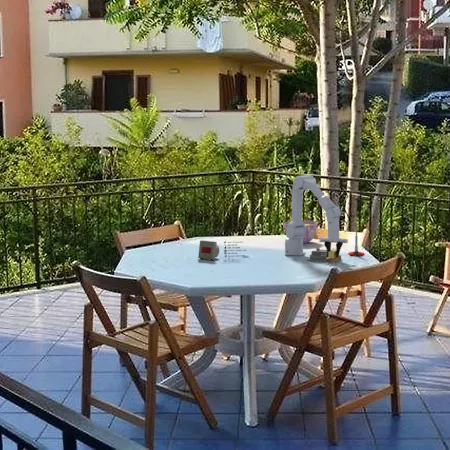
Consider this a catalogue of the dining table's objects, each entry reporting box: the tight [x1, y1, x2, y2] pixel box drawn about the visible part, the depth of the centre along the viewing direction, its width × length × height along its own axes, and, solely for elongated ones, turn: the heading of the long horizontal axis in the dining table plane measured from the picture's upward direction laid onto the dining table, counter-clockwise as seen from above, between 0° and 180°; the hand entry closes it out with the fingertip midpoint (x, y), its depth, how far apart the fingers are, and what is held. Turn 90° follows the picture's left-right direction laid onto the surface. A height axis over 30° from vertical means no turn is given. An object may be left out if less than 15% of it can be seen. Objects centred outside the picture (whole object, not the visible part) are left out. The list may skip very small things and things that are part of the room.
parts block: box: [325, 254, 342, 264], centre depth 411 cm, size 5×11×2 cm, turn 157°
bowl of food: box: [283, 220, 318, 245], centre depth 467 cm, size 20×20×12 cm
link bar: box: [328, 248, 337, 259], centre depth 410 cm, size 3×9×4 cm, turn 157°
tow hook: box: [347, 231, 365, 257], centre depth 426 cm, size 8×13×9 cm
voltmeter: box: [198, 239, 246, 261], centre depth 424 cm, size 27×11×10 cm, turn 90°
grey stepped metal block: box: [306, 247, 328, 263], centre depth 417 cm, size 10×17×5 cm, turn 157°
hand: (333, 256), depth 411 cm, fingers open, 4 cm apart
